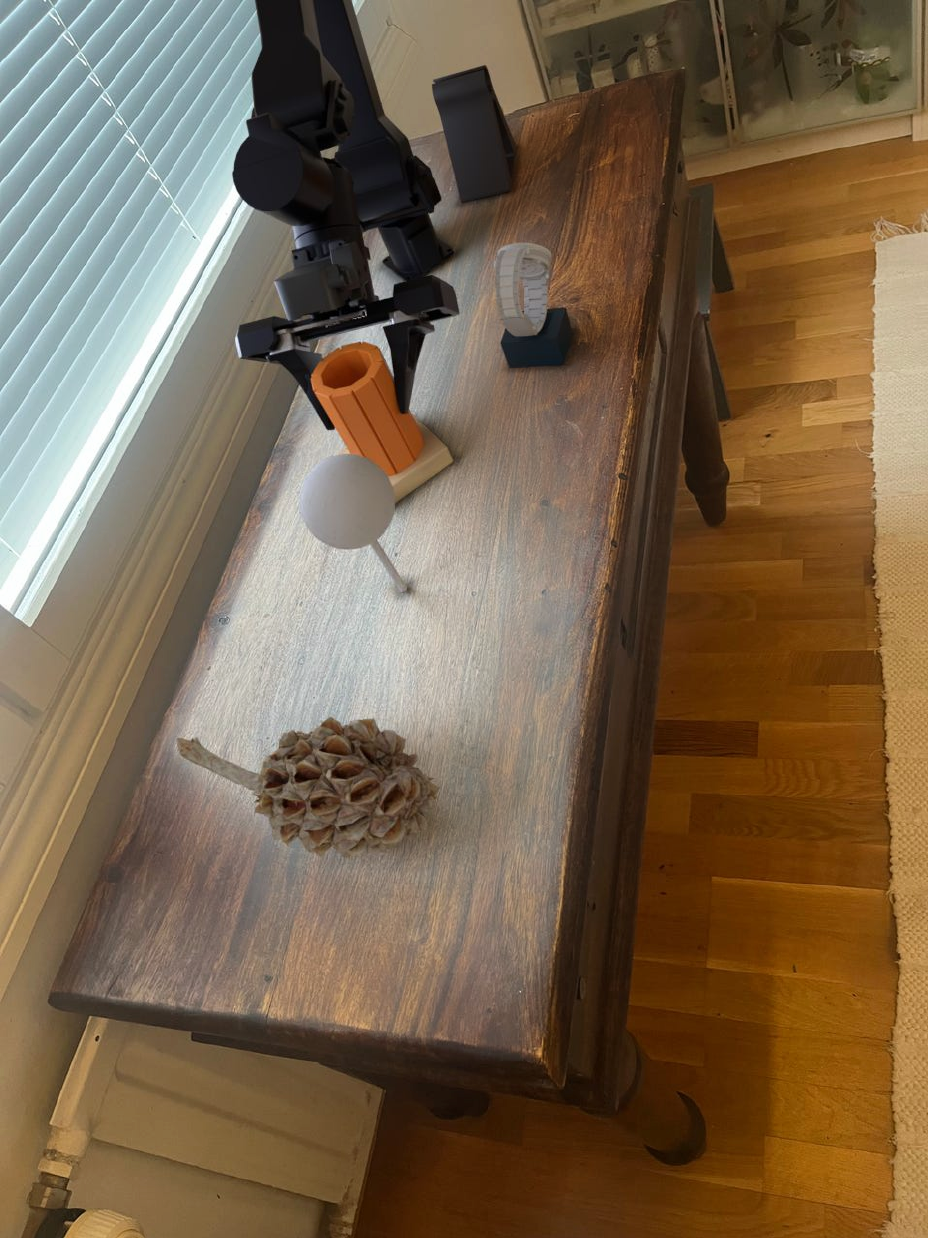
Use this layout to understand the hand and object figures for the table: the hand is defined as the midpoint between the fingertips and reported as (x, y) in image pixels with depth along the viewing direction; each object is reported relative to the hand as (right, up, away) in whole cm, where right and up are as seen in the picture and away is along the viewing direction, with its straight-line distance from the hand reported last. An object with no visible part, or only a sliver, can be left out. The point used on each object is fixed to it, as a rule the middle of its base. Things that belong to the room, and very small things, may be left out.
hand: (367, 421), depth 81 cm
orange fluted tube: (+2, -2, +5) cm, 5 cm away
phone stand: (+12, +35, +29) cm, 47 cm away
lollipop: (+3, -15, -2) cm, 15 cm away
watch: (+16, +9, +9) cm, 20 cm away
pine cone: (-2, -31, -12) cm, 33 cm away
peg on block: (+2, -3, +6) cm, 7 cm away
